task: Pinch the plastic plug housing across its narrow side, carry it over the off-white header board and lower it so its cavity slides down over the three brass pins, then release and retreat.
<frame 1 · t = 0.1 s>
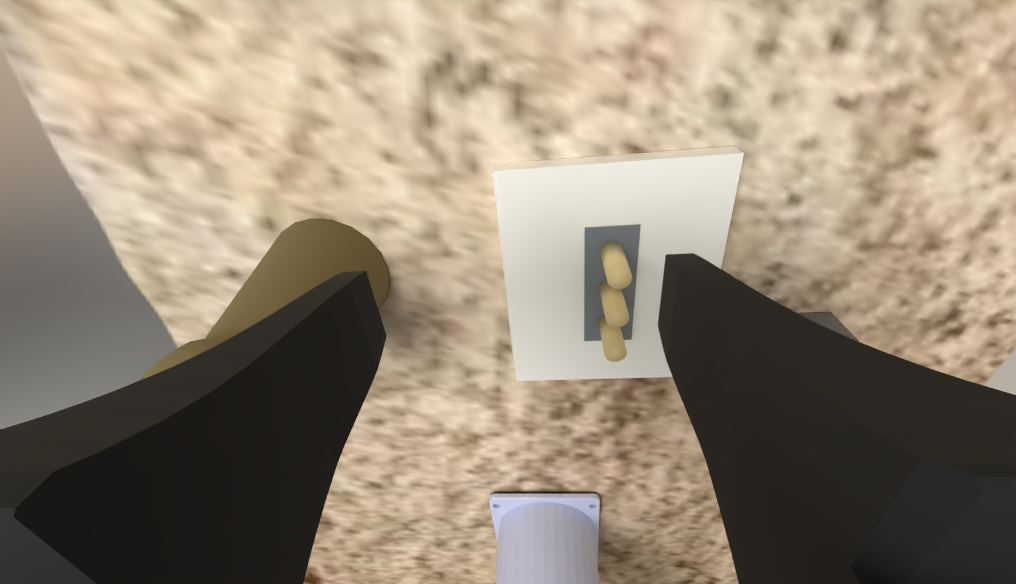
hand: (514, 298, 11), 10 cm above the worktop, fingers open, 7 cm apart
header board: (606, 276, 22), on the worktop
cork: (333, 270, 23), on the worktop
plug housing: (765, 374, 25), on the worktop
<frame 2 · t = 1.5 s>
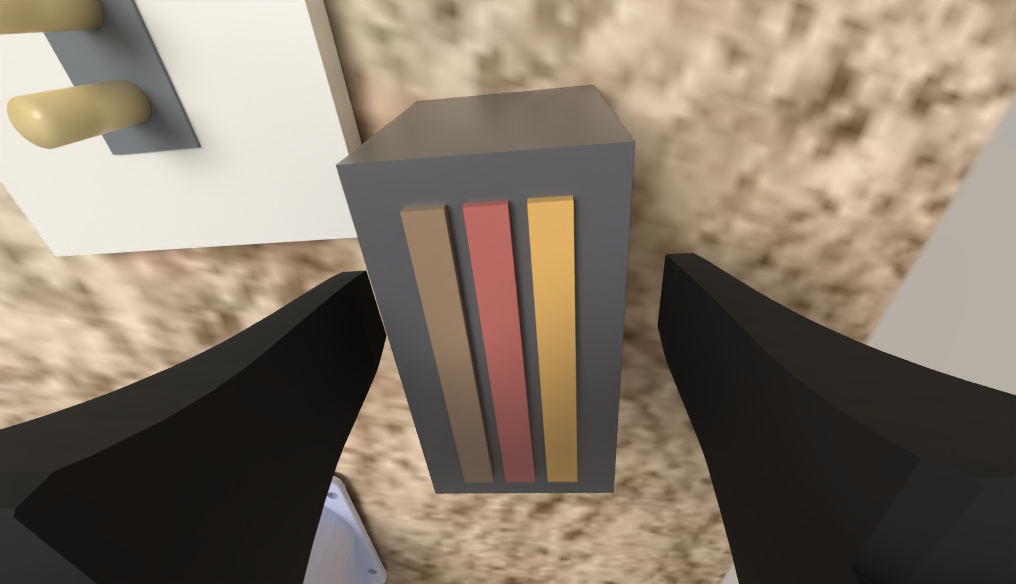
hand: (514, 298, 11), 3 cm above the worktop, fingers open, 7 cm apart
header board: (119, 3, 11), on the worktop
plug housing: (517, 243, 13), on the worktop
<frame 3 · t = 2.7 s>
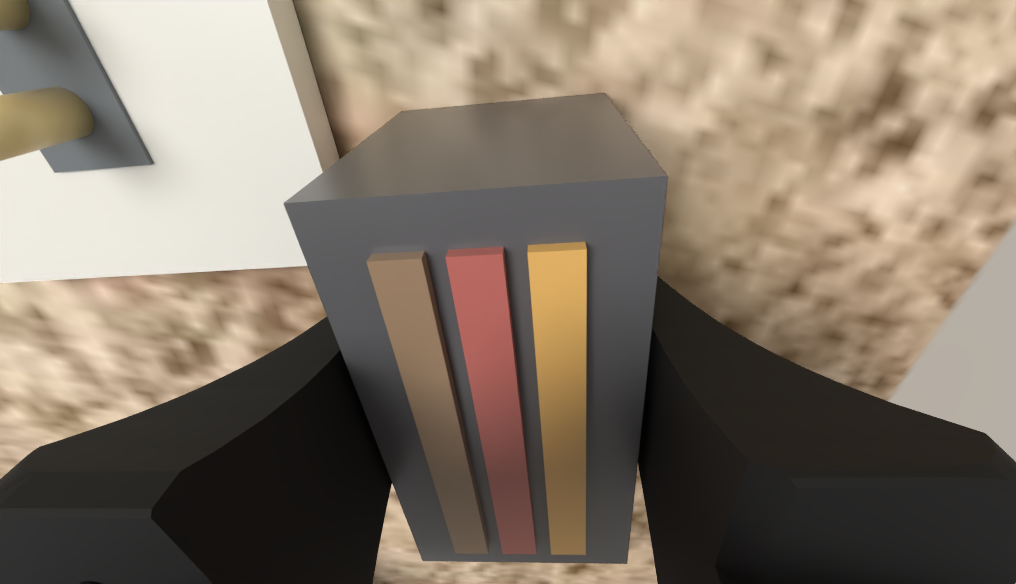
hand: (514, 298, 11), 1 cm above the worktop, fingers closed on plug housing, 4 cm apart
plug housing: (516, 269, 12), on the worktop, touching gripper
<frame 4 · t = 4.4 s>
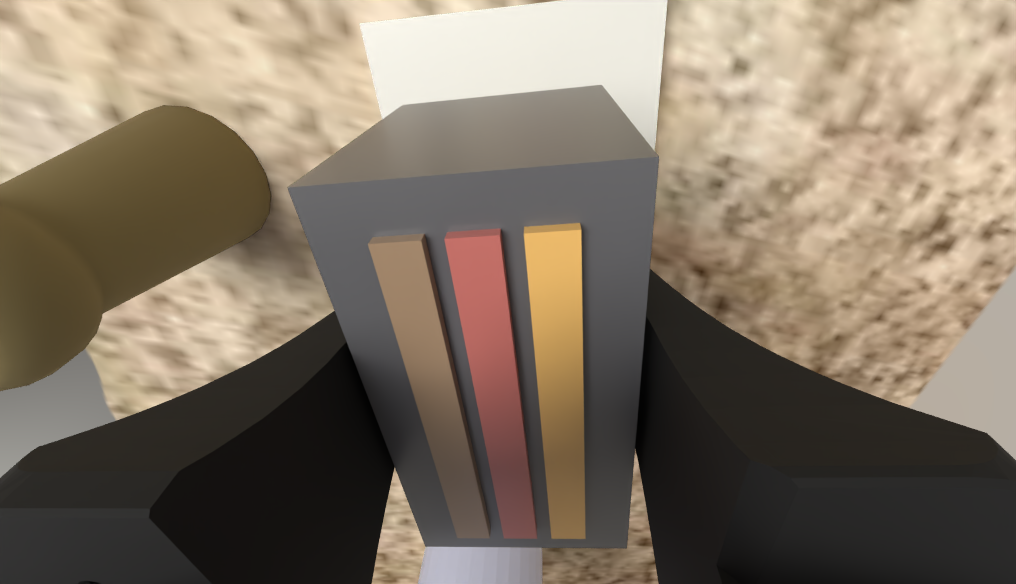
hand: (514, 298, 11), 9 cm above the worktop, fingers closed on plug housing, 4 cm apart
header board: (523, 178, 18), on the worktop
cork: (203, 177, 19), on the worktop
plug housing: (516, 261, 12), point 7 cm above the worktop, touching gripper
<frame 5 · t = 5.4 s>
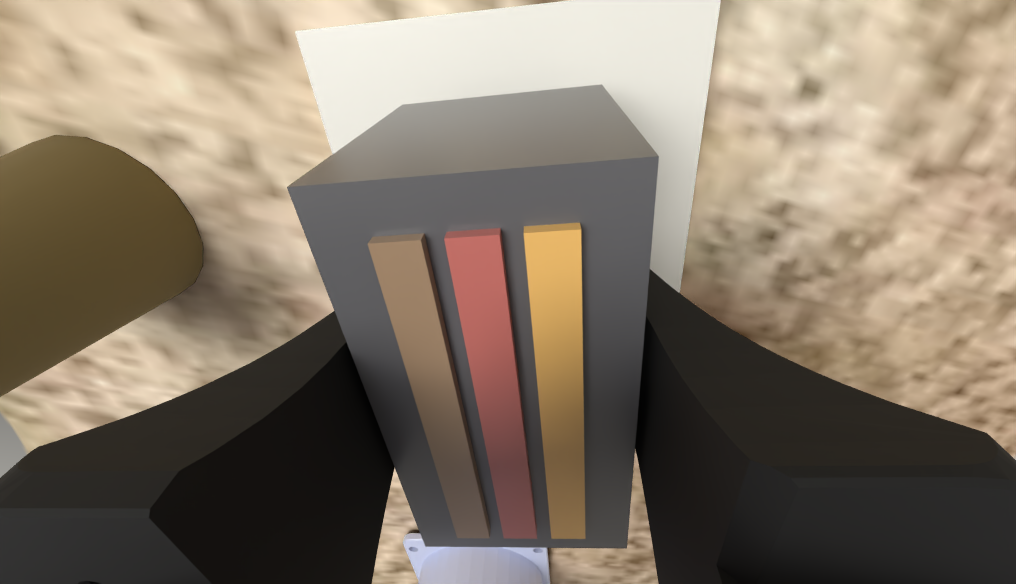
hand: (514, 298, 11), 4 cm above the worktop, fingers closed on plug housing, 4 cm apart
header board: (520, 227, 14), on the worktop
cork: (117, 222, 15), on the worktop
plug housing: (516, 260, 12), point 2 cm above the worktop, touching gripper
when the fingers open (3 cm above the worktop, at t = 6.1 s): plug housing stays where it is, resting on header board.
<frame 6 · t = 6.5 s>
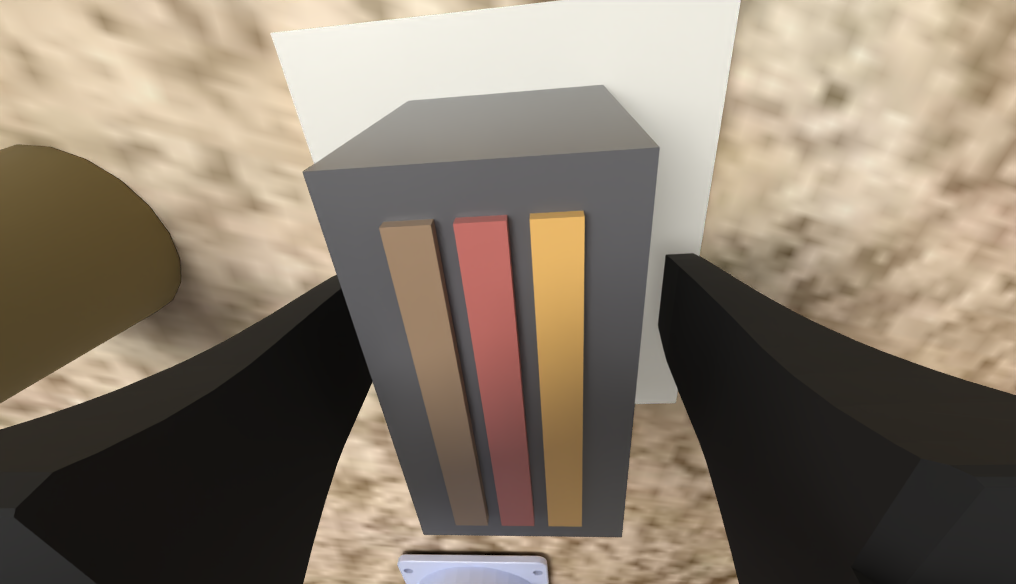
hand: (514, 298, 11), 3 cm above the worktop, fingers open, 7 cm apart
header board: (519, 242, 13), on the worktop
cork: (88, 237, 14), on the worktop
plug housing: (517, 256, 12), point 1 cm above the worktop, touching header board
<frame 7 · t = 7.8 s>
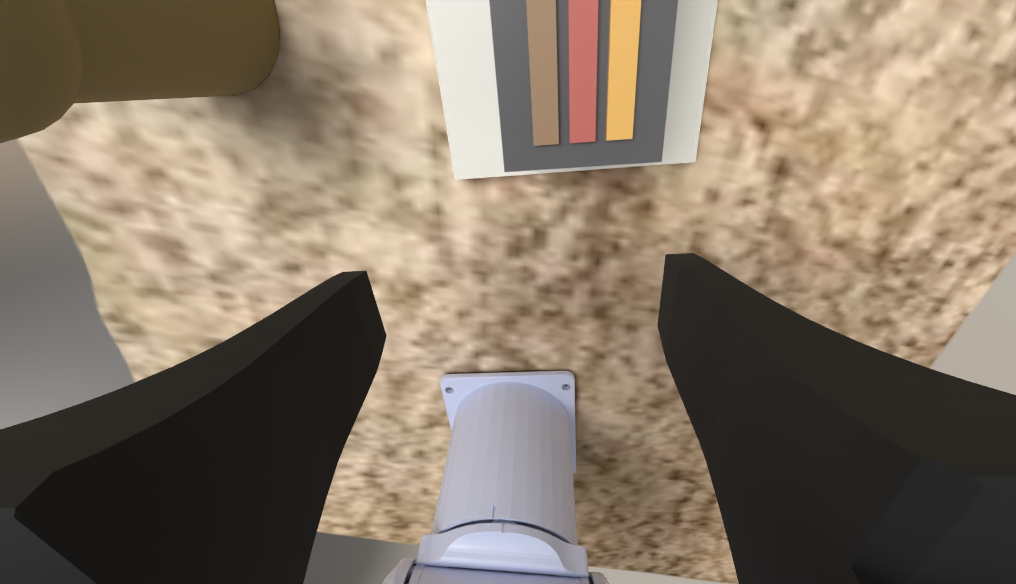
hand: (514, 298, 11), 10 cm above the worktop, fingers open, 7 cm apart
header board: (567, 0, 16), on the worktop
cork: (203, 10, 17), on the worktop
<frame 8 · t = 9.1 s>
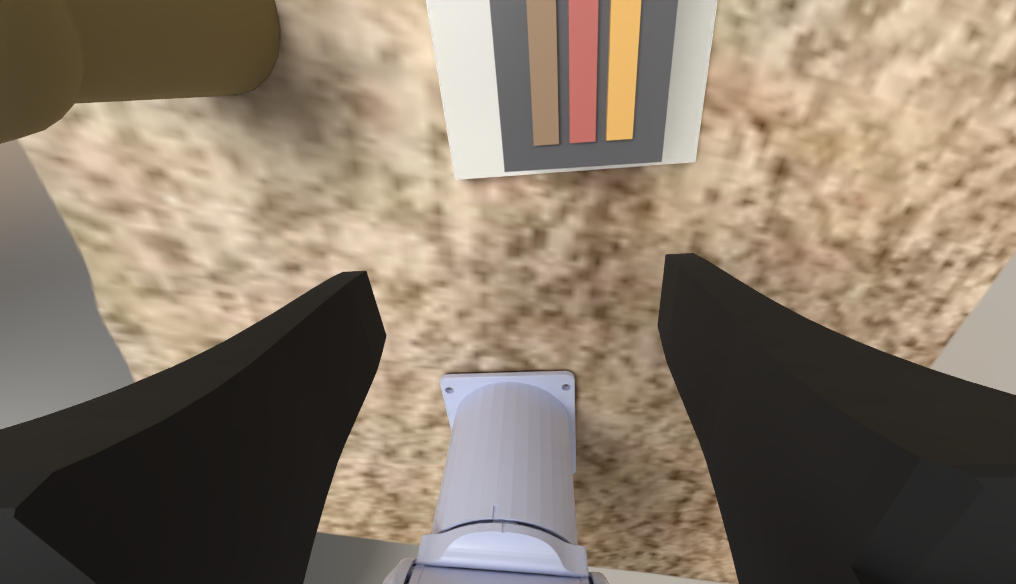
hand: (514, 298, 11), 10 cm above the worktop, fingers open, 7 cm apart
header board: (567, 0, 16), on the worktop
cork: (204, 10, 17), on the worktop
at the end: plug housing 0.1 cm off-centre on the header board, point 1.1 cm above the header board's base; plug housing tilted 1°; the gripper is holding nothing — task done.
